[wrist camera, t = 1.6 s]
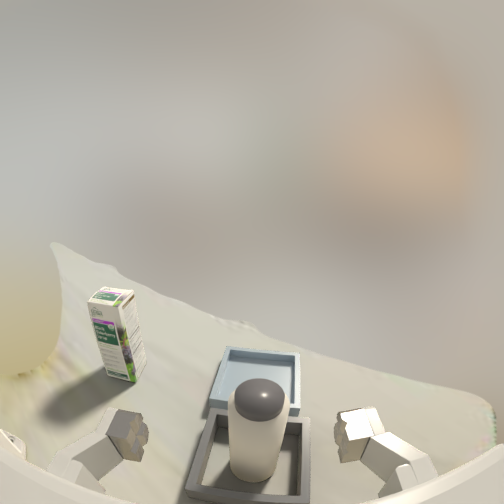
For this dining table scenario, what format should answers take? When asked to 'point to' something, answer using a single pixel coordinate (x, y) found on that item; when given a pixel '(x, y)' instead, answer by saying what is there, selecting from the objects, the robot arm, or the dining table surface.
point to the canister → (256, 428)
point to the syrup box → (118, 332)
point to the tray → (257, 374)
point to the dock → (236, 500)
